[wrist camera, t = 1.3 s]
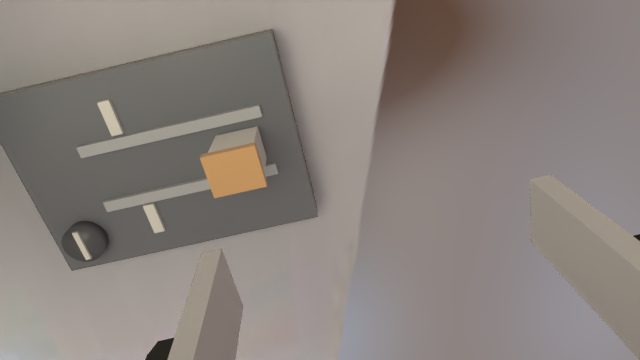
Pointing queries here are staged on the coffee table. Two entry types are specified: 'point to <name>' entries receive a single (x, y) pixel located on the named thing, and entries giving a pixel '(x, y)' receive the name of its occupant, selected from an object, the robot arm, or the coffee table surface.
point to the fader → (235, 162)
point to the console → (155, 150)
